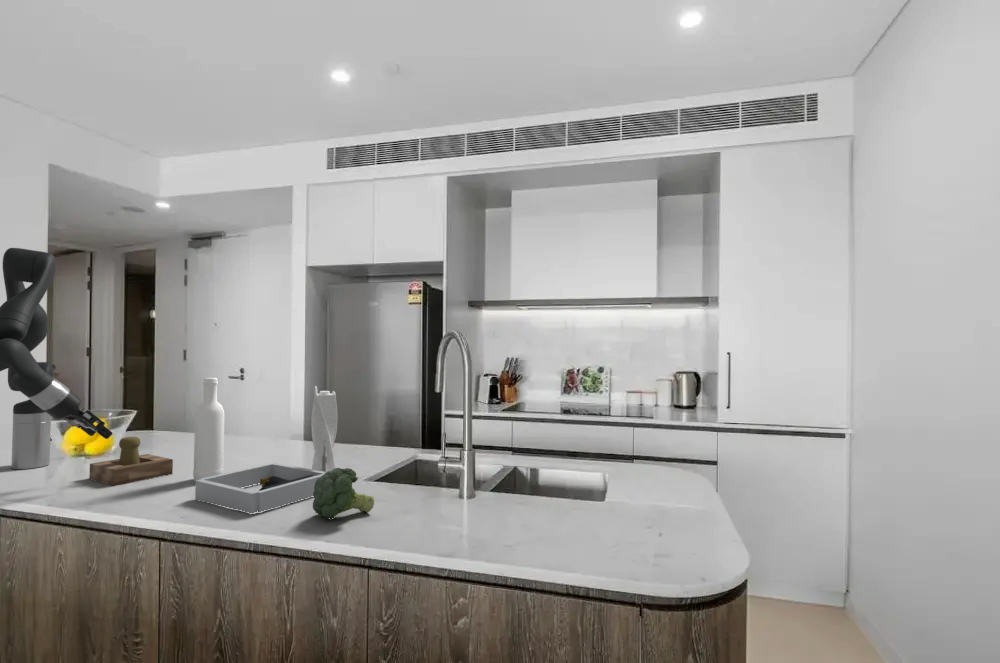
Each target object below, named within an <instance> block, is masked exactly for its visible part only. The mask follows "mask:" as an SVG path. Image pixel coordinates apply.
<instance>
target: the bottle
mask: <svg viewBox="0 0 1000 663" xmlns="http://www.w3.org/2000/svg"><path fill="white" fill-rule="evenodd" d="M218 380H219V379H218V377H205V378H203V382H202V384H203V398H202V400H203V401H202V402H201V403H200V404H198V406H197V409H196V411H195V414H194V443H193V470H192V471H193V472H192V473H193V474H192V476H193V482H195V483H196V480H200V479H202V478H206V477H211V476H215V475H220V474H224V473H225V472H224V468H225V467H224V455H225V454H224V453H225V452H224V450H225V448H224V447H225V410H224V407H223V405H222V404H221V403H220V402H219V401H218V385H219V381H218Z"/></svg>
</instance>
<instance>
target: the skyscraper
mask: <svg viewBox="0 0 1000 663" xmlns="http://www.w3.org/2000/svg"><path fill="white" fill-rule="evenodd" d="M330 392H331V391H329V390H320V391H319V393H318V387H317V385H315V386H314V394H313V395H314V396H313V401H312V407H311V421H310V422H311V424H310V427H311V428H310V429H311V431H310V432H311V438H312V444H313V449H314V453H313V454H314V455H313V459H312V466H311V469H312V470H317V471H323V472H328V471H332V470H333V469H335V468H336V465H335V463H336V462H335V458H334V452H333V451H334V450H333V448H334V446H335V442H336V436H337V431H338V419H339V416H338V414H339V413H338V405H337V404H338V403H337V396H336V395H337V393H336V392H335V391H334V390H332V392H331V393H330Z"/></svg>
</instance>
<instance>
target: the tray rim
mask: <svg viewBox="0 0 1000 663" xmlns="http://www.w3.org/2000/svg"><path fill="white" fill-rule="evenodd" d="M325 473H326V472H323V471H317V470H312V468H306V467H301V466H296V465H295V466H294V465H291V464H290V465H289V464H285V463H278V462H274V463H265V464H260V465H256V466H252V467H248V468H244V469H243V468H242V469H238V470H234V471H230V472H226V473H225V472H223V474H220V475H215V476H211V477H206V478H202V479H200V480H196V482H195V491H194V492H195V493H194V494H195V497H194V500H195V499H196V500H200V501H204V502H209V503H213V504H217V505H221V506H225V507H229V508H233V509H238V510H242V511H245V512H249V513H254V512H257V511H258V512H261V511H264V510H268V509H271V508H275V507H278V506H282V505H284V504H288V503H291V502H295V501H298V500H301V499H305V498H308V497H311V496H314V495H313V492H314V486H315V482H316V480H317V479H318V478H320V477H321V476H322V475H324V474H325ZM308 475H314V476H313V477H309V478H306V479H302V480H298V481H294V482H291V483H287V484H283V485H280V486H276V487H272V488H268V489H265V490H261V491H259V490H258V491H255V490H250V489H247V488H244V489H242V488H241V487H245V486H249V485H253V484H258V483H260V479H263V478H267V477H269V476H276V477H280V478H282V479H287V480H293V479H297V478H301V477H305V476H308ZM196 500H195V501H196ZM200 501H199V502H200ZM204 502H203V503H204Z"/></svg>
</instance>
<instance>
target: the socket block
mask: <svg viewBox="0 0 1000 663" xmlns="http://www.w3.org/2000/svg"><path fill="white" fill-rule="evenodd" d="M139 459H140V463H138V464H132V465H127V466H122V465H119V460H120V458H115V459H109V460H104V461H99V462H98V461H97V462H90V463H89V475H88V476H89V480H91V479H92V480H91V481H94V480H96V481H95V482H98V481H99V482H98V483H102V482H103V483H102V484H105V483H106V485H109V486H114V487H116V485H117V486H121V485H126V484H131V483H135V482H140V481H145V479H146V480H150V478H151V479H155V478H154V477H156V478H160V477H159V476H161V477H164V476H163V475H165V476H169V475H168V474H170V475H173V472H174V471H173V467H174V466H173V465H174V461H173V459H174V458H168V457H165V456H164V457H163V456H159V455H153V454H149V453H146V454H139Z"/></svg>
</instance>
